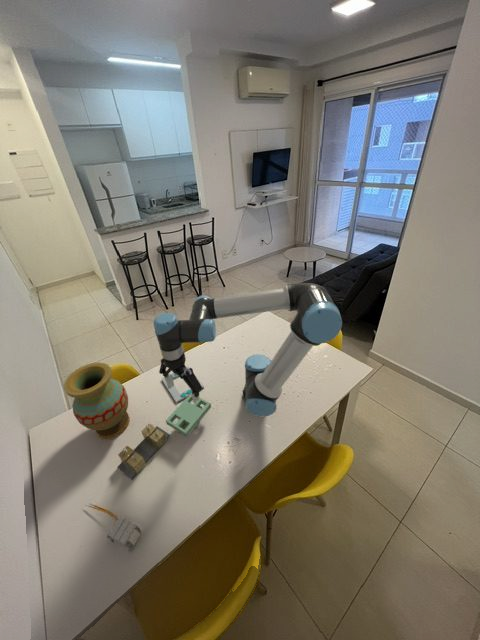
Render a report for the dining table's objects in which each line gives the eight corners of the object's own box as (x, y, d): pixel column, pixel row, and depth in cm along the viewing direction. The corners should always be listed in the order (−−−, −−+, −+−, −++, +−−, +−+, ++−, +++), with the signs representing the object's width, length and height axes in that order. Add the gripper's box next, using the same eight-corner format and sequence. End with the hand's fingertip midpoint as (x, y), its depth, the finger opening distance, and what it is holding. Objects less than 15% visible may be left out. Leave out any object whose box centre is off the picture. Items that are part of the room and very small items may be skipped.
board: (211, 407, 112) (210, 403, 111) (186, 436, 101) (185, 433, 100) (192, 396, 117) (191, 393, 116) (166, 424, 106) (165, 420, 105)
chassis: (171, 436, 108) (167, 425, 104) (132, 480, 94) (126, 470, 90) (156, 426, 112) (152, 415, 108) (117, 467, 99) (110, 456, 94)
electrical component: (81, 525, 87) (73, 518, 84) (95, 506, 91) (87, 499, 89) (133, 553, 77) (125, 546, 74) (145, 530, 81) (139, 522, 79)
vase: (145, 411, 119) (126, 364, 102) (116, 452, 104) (87, 405, 86) (111, 401, 125) (88, 355, 107) (78, 438, 109) (45, 391, 92)
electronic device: (161, 378, 133) (187, 365, 140) (162, 381, 135) (188, 368, 142) (176, 401, 121) (203, 385, 128) (176, 404, 122) (204, 388, 129)
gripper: (207, 359, 88) (214, 399, 100) (156, 337, 99) (168, 375, 111) (193, 373, 82) (201, 414, 95) (141, 348, 94) (154, 387, 106)
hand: (183, 393), depth 103 cm, fingers open, 13 cm apart
